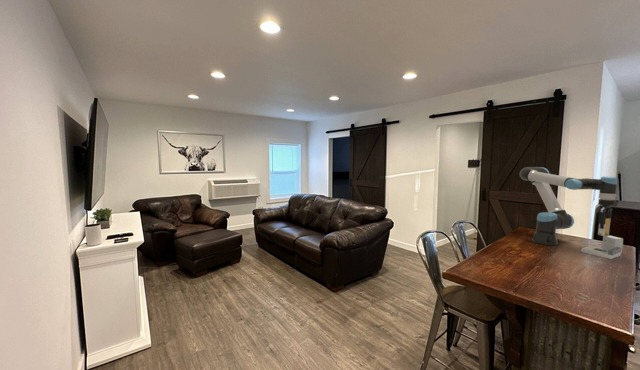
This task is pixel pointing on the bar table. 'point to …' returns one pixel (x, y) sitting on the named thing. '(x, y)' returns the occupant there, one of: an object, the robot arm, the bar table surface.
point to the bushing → (606, 228)
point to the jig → (602, 251)
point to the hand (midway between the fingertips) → (603, 232)
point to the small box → (612, 242)
